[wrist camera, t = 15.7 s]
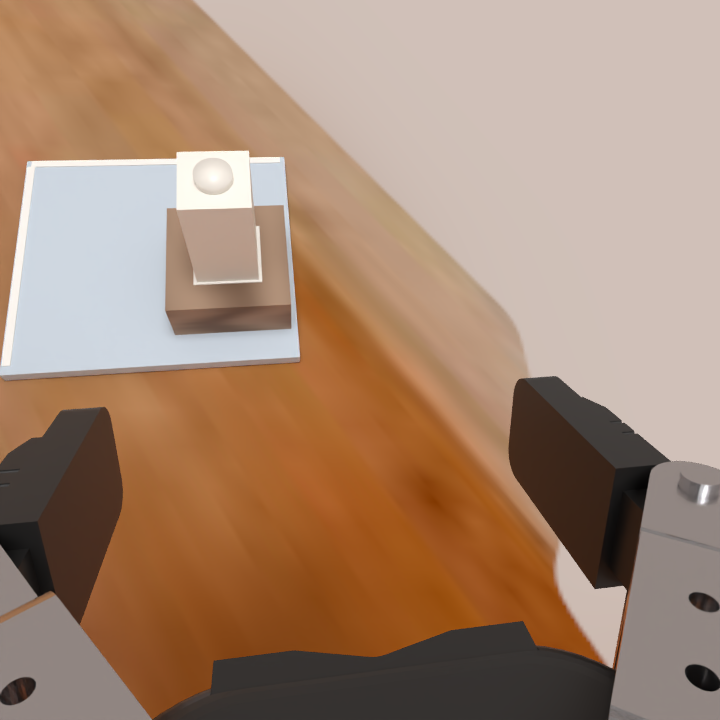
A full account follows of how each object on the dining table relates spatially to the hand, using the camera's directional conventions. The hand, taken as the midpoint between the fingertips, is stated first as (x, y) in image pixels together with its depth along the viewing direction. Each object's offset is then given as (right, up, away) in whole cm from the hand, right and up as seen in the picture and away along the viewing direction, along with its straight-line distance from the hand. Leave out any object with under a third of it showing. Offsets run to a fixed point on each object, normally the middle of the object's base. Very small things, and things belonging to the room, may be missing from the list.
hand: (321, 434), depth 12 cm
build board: (-16, +10, +38) cm, 43 cm away
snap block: (-9, +9, +33) cm, 36 cm away
